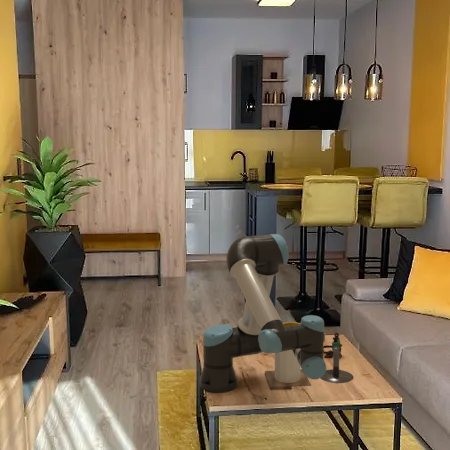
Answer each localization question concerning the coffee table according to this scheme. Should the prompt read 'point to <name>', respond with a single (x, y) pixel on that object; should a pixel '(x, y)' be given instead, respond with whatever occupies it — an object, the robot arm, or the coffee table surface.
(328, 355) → the binoculars
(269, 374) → the cutting board
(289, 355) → the towel roll
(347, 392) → the coffee table surface
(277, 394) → the coffee table surface
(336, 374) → the disc
